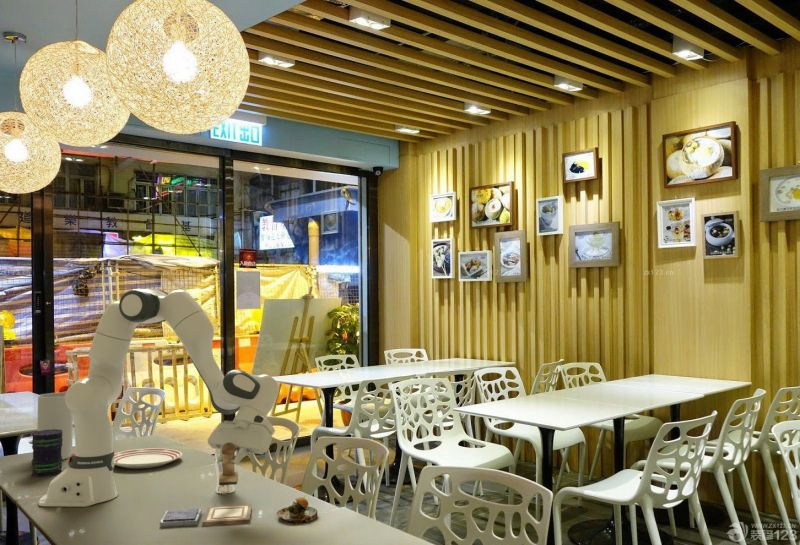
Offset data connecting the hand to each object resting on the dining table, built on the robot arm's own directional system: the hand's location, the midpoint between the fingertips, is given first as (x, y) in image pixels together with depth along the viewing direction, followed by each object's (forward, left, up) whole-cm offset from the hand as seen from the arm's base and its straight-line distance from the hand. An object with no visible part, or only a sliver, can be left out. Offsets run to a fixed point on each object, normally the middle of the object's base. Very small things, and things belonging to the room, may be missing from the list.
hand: (227, 462), depth 195 cm
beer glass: (-3, +27, -16) cm, 31 cm away
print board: (0, +1, -16) cm, 16 cm away
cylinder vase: (-74, +85, -16) cm, 113 cm away
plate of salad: (+20, -3, -16) cm, 26 cm away
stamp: (0, +1, -6) cm, 6 cm away
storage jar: (-69, +61, -16) cm, 93 cm away
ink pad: (-13, 0, -16) cm, 20 cm away
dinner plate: (-37, +71, -16) cm, 81 cm away
